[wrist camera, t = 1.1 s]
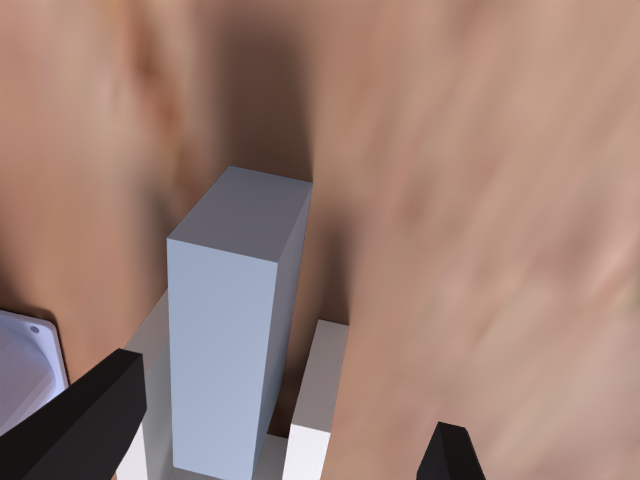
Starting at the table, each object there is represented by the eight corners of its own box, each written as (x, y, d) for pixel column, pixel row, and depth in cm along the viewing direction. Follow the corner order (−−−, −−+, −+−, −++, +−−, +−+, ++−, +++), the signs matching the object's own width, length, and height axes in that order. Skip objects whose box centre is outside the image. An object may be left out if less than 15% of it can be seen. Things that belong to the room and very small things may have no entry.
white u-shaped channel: (175, 427, 29) (117, 543, 24) (168, 286, 23) (89, 395, 18) (318, 461, 29) (294, 590, 23) (349, 325, 23) (327, 452, 17)
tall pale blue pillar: (220, 366, 26) (173, 466, 21) (230, 164, 20) (166, 238, 15) (282, 381, 26) (250, 486, 21) (313, 181, 19) (278, 262, 14)
